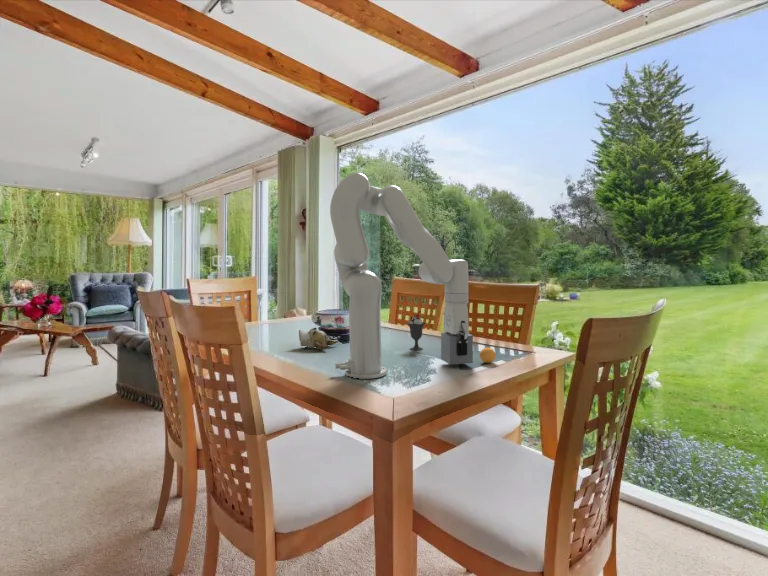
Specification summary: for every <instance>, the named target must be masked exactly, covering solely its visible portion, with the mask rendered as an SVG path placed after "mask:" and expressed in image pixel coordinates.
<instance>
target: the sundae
mask: <svg viewBox="0 0 768 576" xmlns="http://www.w3.org/2000/svg"><path fill="white" fill-rule="evenodd" d="M420 312H421V310H418V312H417V314H416V315H413V316H410V321H408V322H407V325H408V326H409V333H410V336H411V338H412V340H414V346H413V347H410V348H409V350H410V351H424V348H423V347H420V346H419V340H420V339H421V338H422V336H423V329H424V326H425V324H426V322H423V320H422V318H421V316H420Z"/></svg>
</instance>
